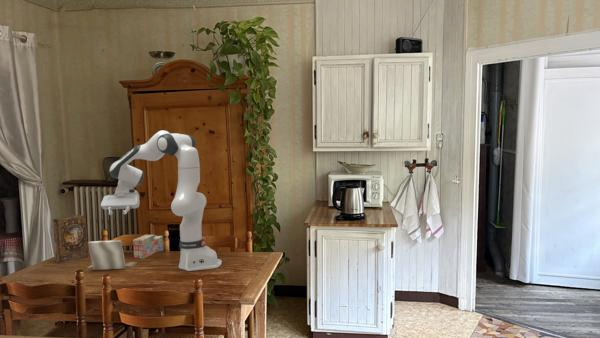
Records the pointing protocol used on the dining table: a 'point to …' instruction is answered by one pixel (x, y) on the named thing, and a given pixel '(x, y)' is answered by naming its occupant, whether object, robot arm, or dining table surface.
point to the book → (70, 238)
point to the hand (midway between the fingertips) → (117, 214)
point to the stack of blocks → (147, 245)
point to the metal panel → (106, 254)
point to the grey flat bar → (128, 264)
